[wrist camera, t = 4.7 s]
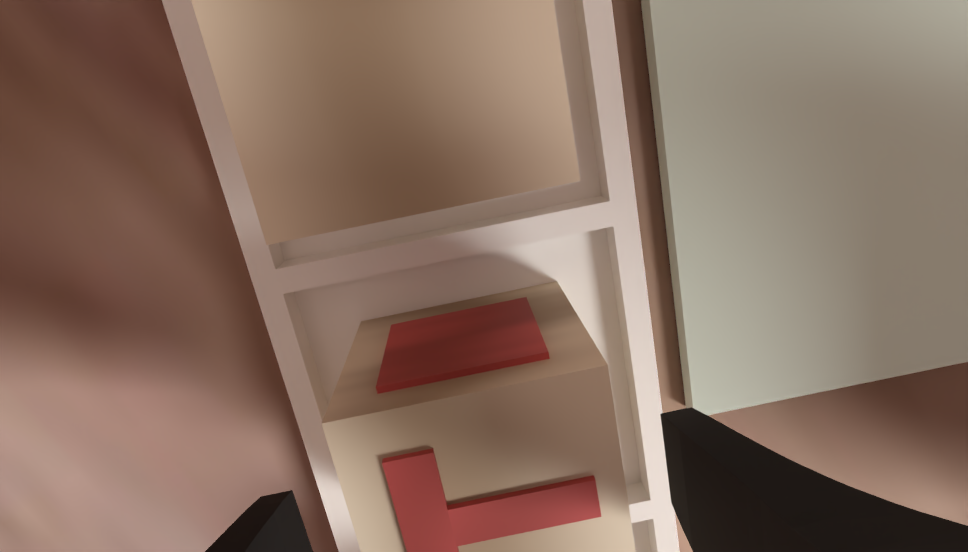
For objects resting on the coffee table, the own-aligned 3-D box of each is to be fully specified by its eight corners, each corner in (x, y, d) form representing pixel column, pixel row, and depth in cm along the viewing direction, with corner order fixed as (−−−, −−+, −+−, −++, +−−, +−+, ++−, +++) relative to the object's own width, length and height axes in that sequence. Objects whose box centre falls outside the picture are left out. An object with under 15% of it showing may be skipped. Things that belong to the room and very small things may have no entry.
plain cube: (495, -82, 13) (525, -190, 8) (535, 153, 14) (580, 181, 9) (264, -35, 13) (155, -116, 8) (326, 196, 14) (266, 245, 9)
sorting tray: (571, -197, 13) (583, -226, 12) (687, 697, 20) (702, 734, 19) (149, -111, 13) (119, -131, 12) (417, 753, 20) (416, 793, 19)
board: (990, -248, 13) (1016, -264, 12) (967, 349, 17) (986, 358, 16) (621, -173, 13) (630, -186, 12) (686, 407, 17) (694, 418, 16)
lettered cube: (556, 276, 15) (608, 361, 10) (585, 452, 17) (644, 601, 12) (359, 316, 15) (317, 420, 10) (406, 489, 17) (389, 653, 12)
